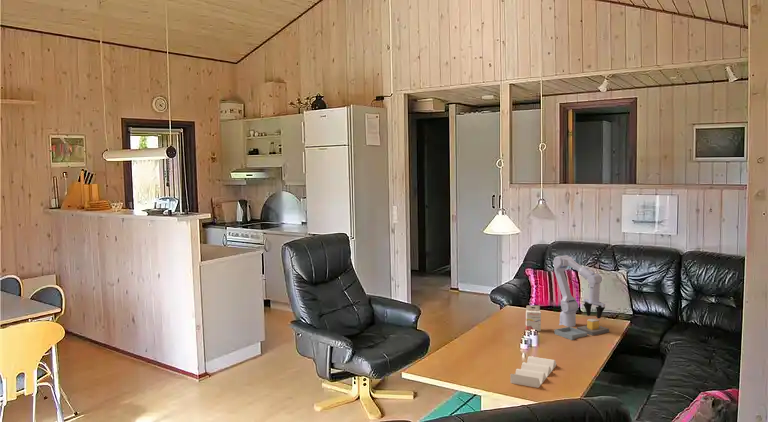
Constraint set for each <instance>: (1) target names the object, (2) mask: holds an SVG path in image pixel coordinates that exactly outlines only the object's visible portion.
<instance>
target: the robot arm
mask: <svg viewBox="0 0 768 422" xmlns="http://www.w3.org/2000/svg"><path fill="white" fill-rule="evenodd" d="M552 264H553V271H554V274H555V278H556V281H557V284H558V287H559V291H560V293H561V296H562V298H561V300H560V309H561V311H560V312H559V323H558V326H562V325H563V326H565V327H572V328H575V327H577V325H576V323H577V322H576V321H577V319H576V318H577V316H576V315H577V314H576V313H577V311H578V309H579V308H580V306H579V303H578V302H577V300H576V298H575V297H574V296H573V295H572V293H571V290H570V287H569V283H568V281H567V280H568V279H567V278H566V277H567V276H566V273H565V270H566V268H568V267H570V268H572V269H574V270H575V271H577V272H578V273H579V275H580V276H581V277H582V278H584V279H585V280H587V282H588V287H589V291H588V292H589V293H588V298H585V299H583V301H582V302H583V304H582V305H583V307H584V309H585V313H586V316H588V317H589V316H591V313H592V305H593V306H596V307H595V309H596V319H598V320H600V319H601V317H602V315H603V313H604V310H605V309H606V303H605V302H604V303H603V302H601V301H600V290H601V289H600V284H601V283H602V280H603V277H602V275H601V274H600V273H595V271H592V270H591V269H589V267H588V266H581V265H580V264H579V263H577V262H576V261H575V260H574V259H573V257H571V256H570V255H568V254H566V255H561V256H560V255H559V256H555V257H554V258H553V261H552Z"/></svg>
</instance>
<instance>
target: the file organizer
mask: <svg viewBox="0 0 768 422" xmlns="http://www.w3.org/2000/svg"><path fill="white" fill-rule="evenodd" d="M521 363H522V364H521V366H520V368H516V369H515V373H510V375H509V376H510V377H509V378H510V384H515V385H519V386H520V385H521V386H526V387H531V388H540V387H541V385H543V383H544V382H545V380H546V379H547V378H548V377H549V375H550V374H551V373H552V372H553V370H554V369H555V368H556V367H557V361H556V360H555V359H550V358H545V357H537V356H530V355H529V356H527V360H526V362H525V361H523V362H521Z"/></svg>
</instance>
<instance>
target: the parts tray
mask: <svg viewBox="0 0 768 422" xmlns="http://www.w3.org/2000/svg"><path fill="white" fill-rule="evenodd" d="M554 335H556V336H559V337H562V338H565V339H568V340H570V341H574V340H576V339H579V338H583V337H588V334H587V332H584V331H581V330H578V329H577V328H575V327H568V326H565V327H561V328H556V329H554Z"/></svg>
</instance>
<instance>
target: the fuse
mask: <svg viewBox="0 0 768 422" xmlns="http://www.w3.org/2000/svg"><path fill="white" fill-rule="evenodd" d="M586 325H587V328H588V329H591V330H594V329H599V326H600V319H598V318H588V319H587V320H586Z"/></svg>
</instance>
